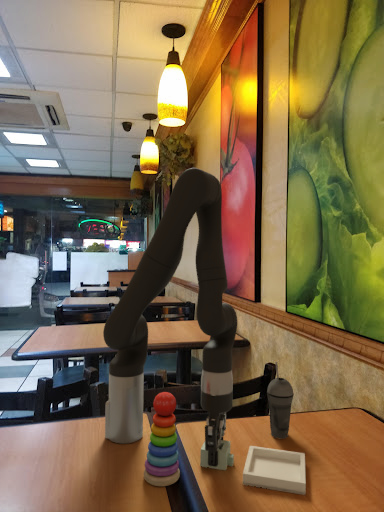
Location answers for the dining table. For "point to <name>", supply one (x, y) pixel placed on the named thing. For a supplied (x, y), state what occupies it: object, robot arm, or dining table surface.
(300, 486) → the tray
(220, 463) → the pale green hollow block
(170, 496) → the dining table surface
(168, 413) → the stacking toy
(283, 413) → the beverage cup
